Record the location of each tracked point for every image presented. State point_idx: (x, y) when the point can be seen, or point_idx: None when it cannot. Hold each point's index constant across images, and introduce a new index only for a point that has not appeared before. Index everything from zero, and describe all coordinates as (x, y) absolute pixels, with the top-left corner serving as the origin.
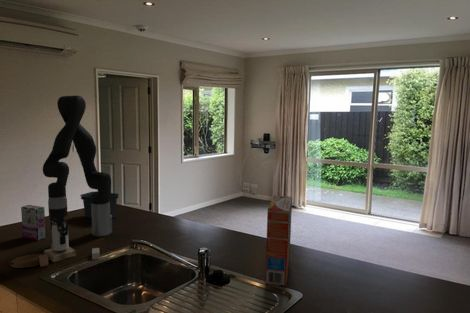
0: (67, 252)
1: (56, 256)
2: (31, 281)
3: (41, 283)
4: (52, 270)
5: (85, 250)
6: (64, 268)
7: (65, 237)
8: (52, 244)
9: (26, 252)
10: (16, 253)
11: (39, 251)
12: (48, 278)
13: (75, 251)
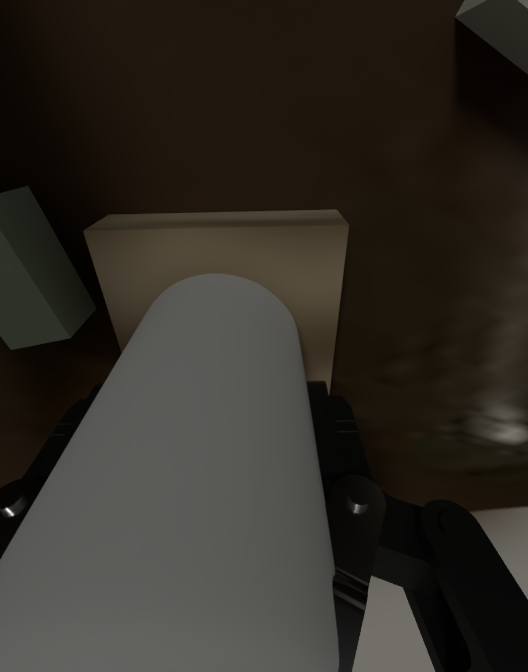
0: (326, 308)
1: (329, 390)
2: (455, 499)
3: (520, 482)
4: (434, 418)
5: (261, 33)
6: (480, 366)
7: (312, 428)
8: (24, 340)
9: (25, 434)
10: (19, 467)
11: (41, 382)
12: (506, 454)
13: (346, 227)
